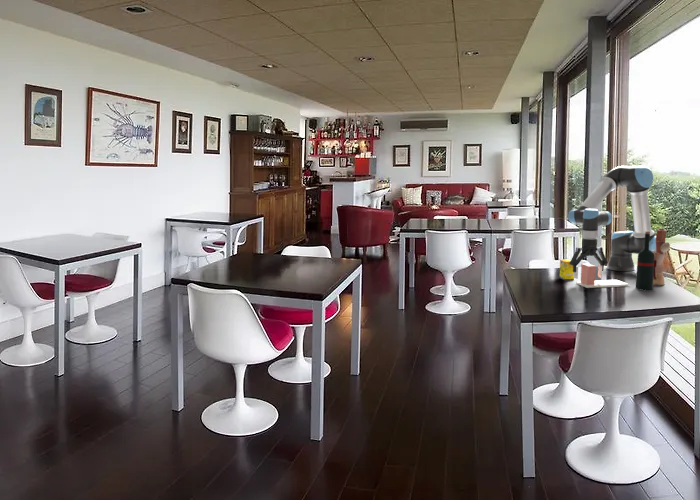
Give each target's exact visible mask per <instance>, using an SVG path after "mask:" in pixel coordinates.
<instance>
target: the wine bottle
mask: <svg viewBox="0 0 700 500" xmlns="http://www.w3.org/2000/svg"><path fill="white" fill-rule="evenodd" d="M649 242H650V232H649V231H645V244H644V250H642V251H640V252H639V254H637V264H636V276H635V290H639V291H644V290H646V291H652V290H653V288H654V285H653V277H654V279H656V277H655V267H656V262H657V261H656V260H654V256H655V255H654V253H653V252H652V251H650V250H649ZM646 291H645V292H646Z"/></svg>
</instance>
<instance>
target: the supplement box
mask: <svg viewBox="0 0 700 500" xmlns="http://www.w3.org/2000/svg"><path fill="white" fill-rule="evenodd" d="M570 261H571V259H560V260H559V279H561V280H562V281H574V280H575V278H574V272H573V265H570V264H569V263H570Z"/></svg>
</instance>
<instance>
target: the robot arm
mask: <svg viewBox="0 0 700 500" xmlns="http://www.w3.org/2000/svg"><path fill="white" fill-rule="evenodd" d="M653 182H654V174H653V171H652V170H651V168H649V167H648V166H647V165H646V166H645V165H644V166H643V165H621V166H620V165H619V166H617V167H614V168H612V169H611V170H609V171H608V172H606V173H605V174H604V175H603V176H602V177H601V178H600V179H599V183H598V184H597V186H596V187H595V188H594V189H593V190H592V191H591V193H590V194H589V195H588V196H587V197H586V198H585V200H584V201H582V203H581V204H580V206H579V207H578V208H577V209H571V210H570V211H568V215H567V219H568V221H569V223H572V224H576V225H582V232H581V233H582V236H581V237H582V239H581V247H576V248H575V251H574V254H573V256H572V257H571V259H570V260H571V261H570V263H569V264H570V265H573V272H574V279H577V280H578V279H579V278H578V277H579V264H580V263H581V262H582V260H583V259H584V258H586V257H589V256H592V257H594V259H595V260H596V261H597V263H598V268H597V277H598V278H600V279H601V278H603V272H604V269H605V267H604V266H606V269H607V270H611V271H618V272H633V271H635V264H634V260H633V254H634V255H638V254H639V252H640V251H642V250H644V244H645V231H649V232H650V242H649V250H650V251H652V250H655V251H656V234H655V231H654V230H653V229H652V224H651V223H652V222H651V214H650V207H649V206H650V205H649V198H648V191H649V190H650V187H651V186H652V185H653ZM618 187H622V188H623V187H625V188H626V192H627V193H629V194H630V196H629V197H630V204H631V211H632V219H633V220H632V221H633V229H634V231H633V230H623V231H622V230H621V231H615V232H613V233H612V235H611V243H610V244H611V245H610V257H609V259H608V260H607V258H606V256H605V254H604V249H603V246H598V236H599V233H598V232H599V227H601V226H602V227H603V226H605V227H606V226H608V225H610V224H611V222H612V221H613V215H612V213H611V212H610V211H605V210H602V211H599V209H598V207H599V206H600V205H601V204H602V202H603V201H604V200H605V199H606V197H607V196H608V195H609V194H610V193H611V192H612V191H614V190H616V189H617V188H618ZM597 246H598V247H597ZM597 251H598V253H597ZM598 254H599V255H598Z"/></svg>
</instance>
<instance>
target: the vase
mask: <svg viewBox="0 0 700 500" xmlns="http://www.w3.org/2000/svg"><path fill="white" fill-rule="evenodd" d="M655 236H656V251H655V250H652V252H653V253H654V255H655V256H654V260H656V261H657V262H656V267H655V277H656V279H654V277H653V286H656V285H658V286H660V285H663V286H665V283H666V282H665V277H664V274H663V261H664V259H665V257H666V252H668V251H669V250H670V248H671V243H670V242H668V241H666V237H667V229H666V228H657V230H656V234H655ZM658 286H657V287H658Z"/></svg>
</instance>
